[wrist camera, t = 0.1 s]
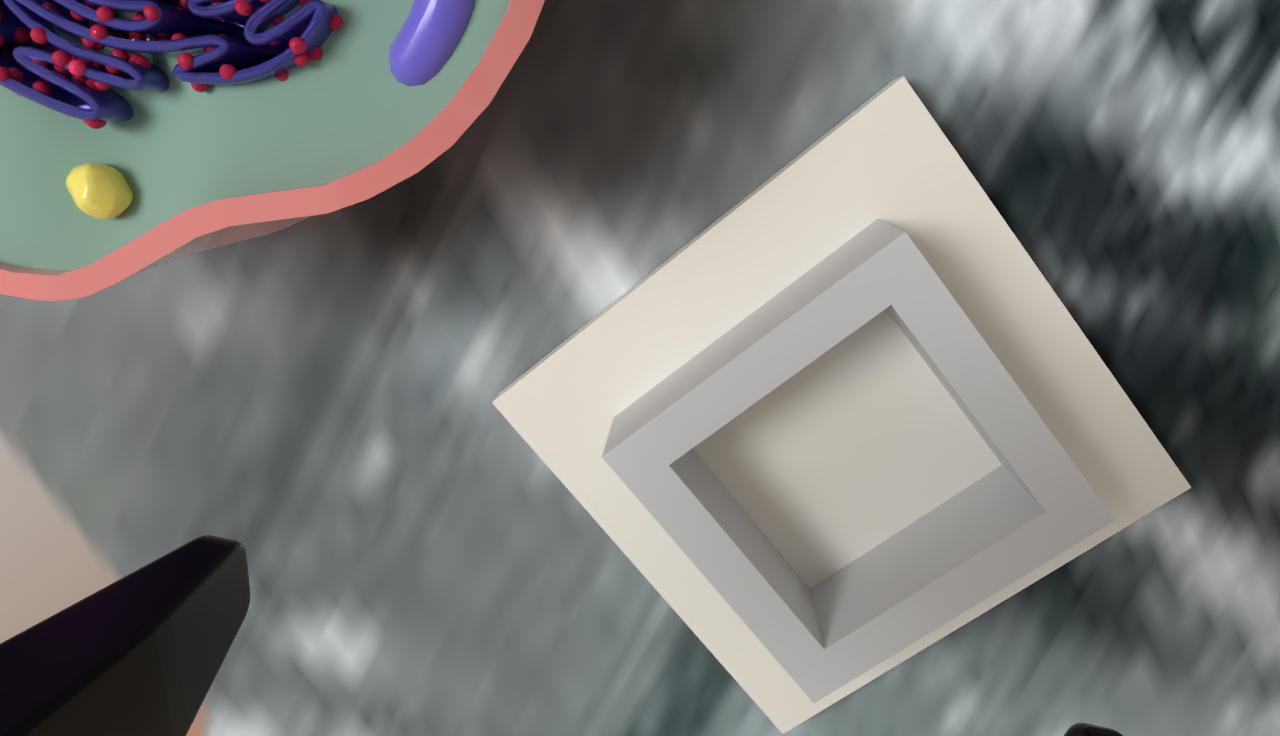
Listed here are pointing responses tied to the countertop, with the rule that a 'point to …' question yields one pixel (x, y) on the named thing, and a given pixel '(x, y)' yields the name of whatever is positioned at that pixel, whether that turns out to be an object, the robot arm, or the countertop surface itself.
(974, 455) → the socket plate
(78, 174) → the cell model
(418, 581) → the countertop surface
